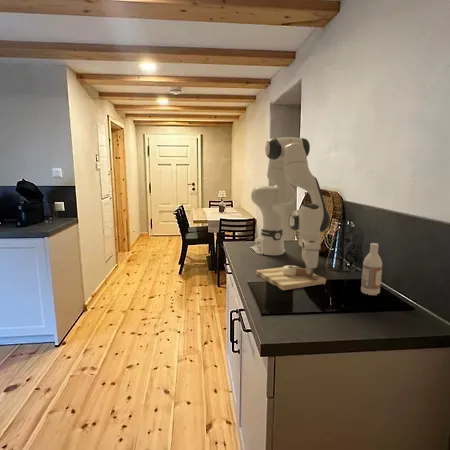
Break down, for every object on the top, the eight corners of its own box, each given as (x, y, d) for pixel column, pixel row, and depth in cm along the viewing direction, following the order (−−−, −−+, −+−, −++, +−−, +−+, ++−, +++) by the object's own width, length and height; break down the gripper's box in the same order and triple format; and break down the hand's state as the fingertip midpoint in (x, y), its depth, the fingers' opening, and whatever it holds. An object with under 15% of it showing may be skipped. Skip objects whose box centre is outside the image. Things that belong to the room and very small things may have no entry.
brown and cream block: (282, 275, 145) (282, 267, 144) (284, 271, 150) (284, 263, 150) (312, 278, 141) (312, 270, 140) (313, 274, 146) (313, 266, 146)
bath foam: (373, 297, 127) (377, 246, 123) (357, 291, 132) (361, 243, 129) (383, 293, 130) (388, 244, 127) (367, 288, 136) (371, 241, 133)
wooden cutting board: (256, 274, 152) (256, 270, 152) (295, 269, 161) (295, 264, 161) (283, 290, 133) (283, 285, 132) (325, 283, 142) (326, 278, 141)
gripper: (298, 237, 151) (297, 267, 153) (305, 246, 131) (304, 279, 132) (312, 237, 150) (311, 267, 152) (321, 246, 130) (320, 280, 132)
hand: (308, 273), depth 142 cm, fingers closed
